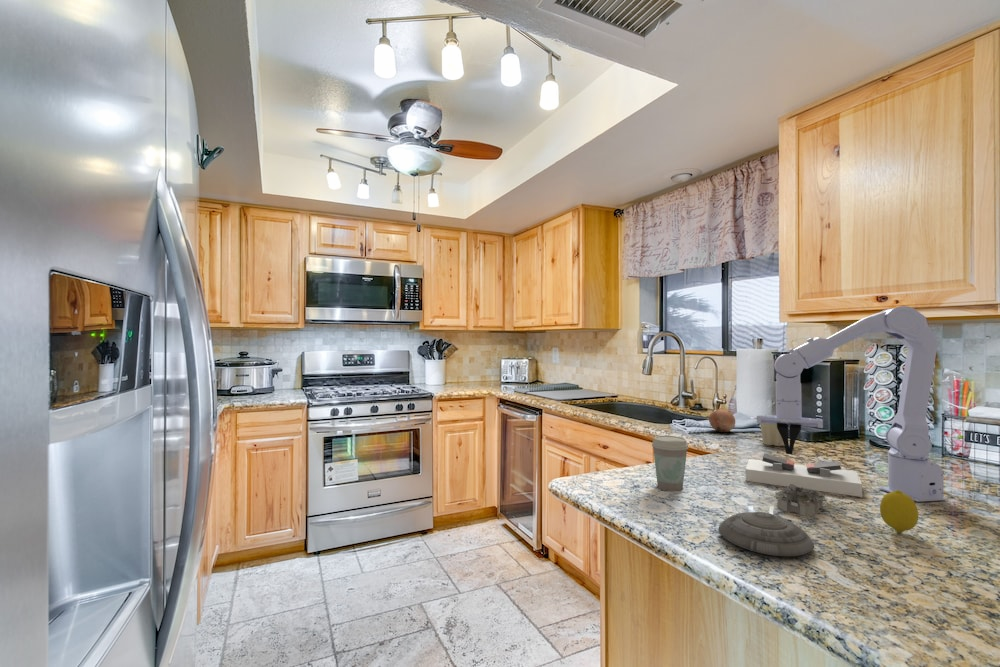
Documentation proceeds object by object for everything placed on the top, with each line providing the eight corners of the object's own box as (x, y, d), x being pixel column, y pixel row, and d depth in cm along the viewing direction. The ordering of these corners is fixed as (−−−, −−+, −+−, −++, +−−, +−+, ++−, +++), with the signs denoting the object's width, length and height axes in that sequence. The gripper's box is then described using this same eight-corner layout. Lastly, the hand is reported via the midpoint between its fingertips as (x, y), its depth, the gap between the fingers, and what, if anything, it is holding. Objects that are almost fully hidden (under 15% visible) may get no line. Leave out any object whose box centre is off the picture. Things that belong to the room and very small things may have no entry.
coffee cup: (648, 489, 115) (648, 440, 115) (655, 480, 123) (654, 433, 123) (686, 495, 111) (686, 443, 111) (690, 485, 119) (690, 437, 119)
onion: (718, 437, 190) (716, 413, 195) (741, 434, 183) (738, 409, 188) (705, 431, 185) (703, 406, 190) (728, 428, 178) (726, 402, 183)
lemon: (880, 524, 93) (879, 484, 94) (917, 531, 90) (917, 489, 90) (879, 533, 89) (879, 491, 89) (919, 541, 86) (918, 497, 86)
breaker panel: (856, 483, 120) (856, 464, 120) (862, 496, 110) (862, 476, 110) (749, 469, 132) (749, 452, 133) (745, 480, 122) (745, 462, 122)
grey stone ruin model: (811, 519, 97) (811, 499, 97) (771, 509, 103) (771, 490, 103) (828, 507, 104) (828, 488, 104) (790, 498, 109) (790, 480, 109)
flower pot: (764, 440, 171) (764, 416, 171) (793, 444, 164) (793, 419, 164) (753, 443, 165) (752, 419, 165) (782, 448, 158) (782, 422, 158)
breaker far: (792, 468, 124) (794, 461, 124) (792, 472, 120) (794, 465, 120) (762, 459, 128) (764, 452, 128) (761, 463, 123) (763, 456, 123)
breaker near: (840, 467, 119) (838, 460, 119) (842, 472, 115) (839, 464, 115) (808, 470, 122) (806, 463, 123) (808, 475, 118) (806, 468, 118)
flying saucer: (705, 544, 86) (705, 513, 86) (735, 521, 96) (735, 494, 96) (801, 573, 75) (801, 538, 75) (823, 544, 85) (823, 513, 85)
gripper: (755, 400, 123) (756, 453, 123) (823, 404, 115) (824, 460, 115) (757, 397, 129) (757, 447, 129) (821, 400, 121) (822, 454, 121)
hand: (789, 453), depth 122 cm, fingers closed
